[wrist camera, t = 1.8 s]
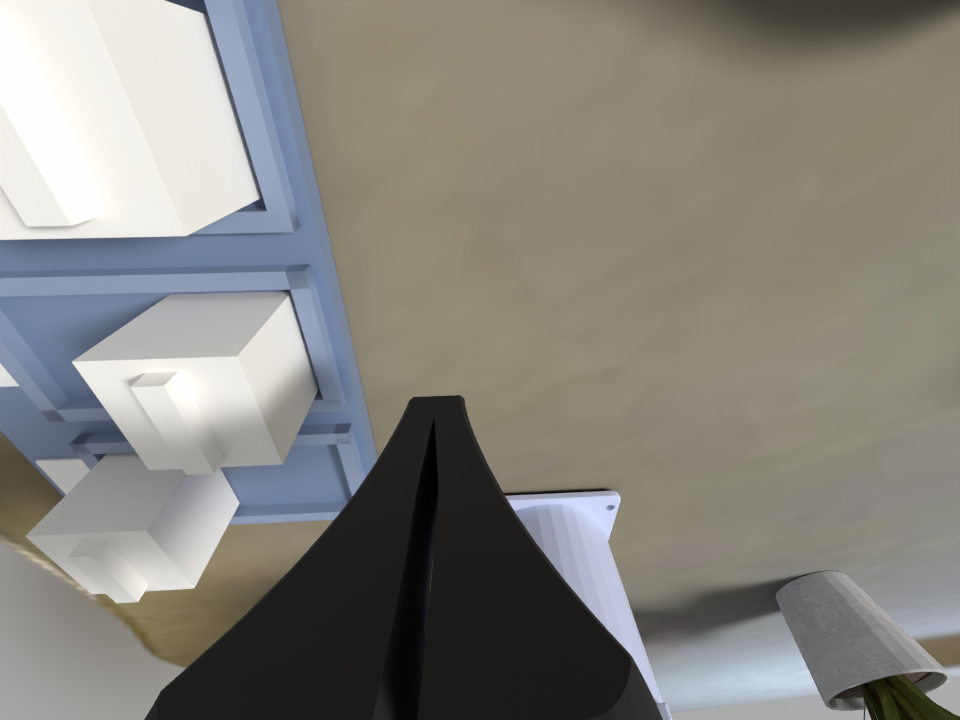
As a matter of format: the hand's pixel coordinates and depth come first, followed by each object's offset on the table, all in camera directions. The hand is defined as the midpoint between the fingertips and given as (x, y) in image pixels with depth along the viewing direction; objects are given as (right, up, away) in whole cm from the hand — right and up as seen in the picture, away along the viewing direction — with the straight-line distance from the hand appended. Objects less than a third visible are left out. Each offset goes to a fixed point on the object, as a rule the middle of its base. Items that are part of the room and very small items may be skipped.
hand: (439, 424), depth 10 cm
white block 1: (-7, +2, +4) cm, 8 cm away
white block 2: (-13, -4, +7) cm, 15 cm away
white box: (-7, +8, 0) cm, 11 cm away
